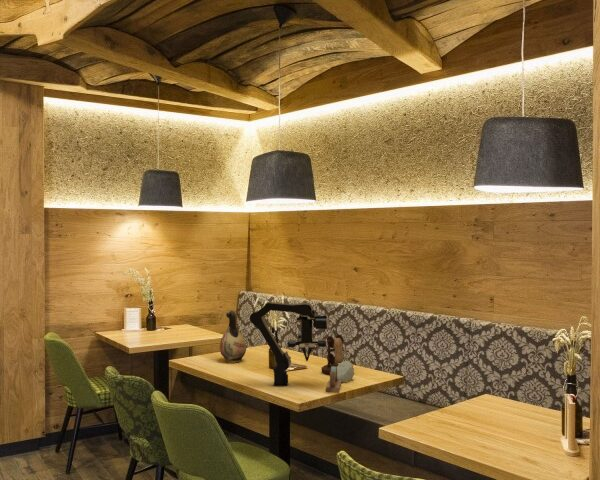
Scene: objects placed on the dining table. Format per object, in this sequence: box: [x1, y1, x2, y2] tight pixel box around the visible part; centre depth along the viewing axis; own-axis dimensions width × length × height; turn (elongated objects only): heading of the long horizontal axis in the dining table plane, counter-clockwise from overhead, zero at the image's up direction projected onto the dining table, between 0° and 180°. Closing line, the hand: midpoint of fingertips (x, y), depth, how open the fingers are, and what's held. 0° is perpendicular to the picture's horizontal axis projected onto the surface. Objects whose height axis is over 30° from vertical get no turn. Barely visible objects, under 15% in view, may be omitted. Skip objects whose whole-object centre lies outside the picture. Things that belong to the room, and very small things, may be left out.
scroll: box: [321, 334, 344, 374], centre depth 326 cm, size 15×15×20 cm
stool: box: [325, 366, 342, 394], centre depth 291 cm, size 6×14×10 cm, turn 171°
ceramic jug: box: [219, 310, 247, 364], centre depth 355 cm, size 17×15×30 cm
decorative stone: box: [337, 360, 355, 383], centre depth 308 cm, size 13×11×10 cm
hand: (307, 360), depth 298 cm, fingers closed
